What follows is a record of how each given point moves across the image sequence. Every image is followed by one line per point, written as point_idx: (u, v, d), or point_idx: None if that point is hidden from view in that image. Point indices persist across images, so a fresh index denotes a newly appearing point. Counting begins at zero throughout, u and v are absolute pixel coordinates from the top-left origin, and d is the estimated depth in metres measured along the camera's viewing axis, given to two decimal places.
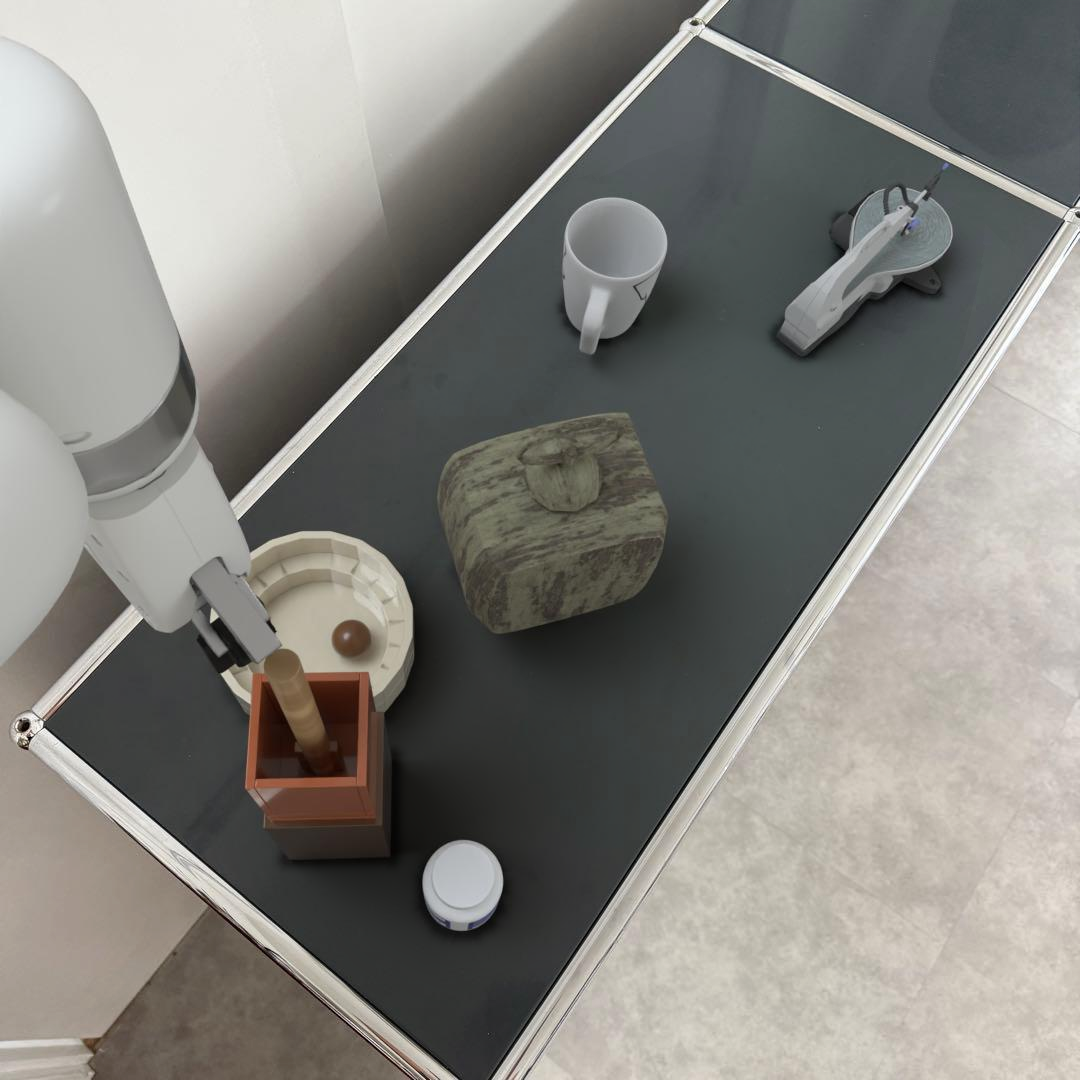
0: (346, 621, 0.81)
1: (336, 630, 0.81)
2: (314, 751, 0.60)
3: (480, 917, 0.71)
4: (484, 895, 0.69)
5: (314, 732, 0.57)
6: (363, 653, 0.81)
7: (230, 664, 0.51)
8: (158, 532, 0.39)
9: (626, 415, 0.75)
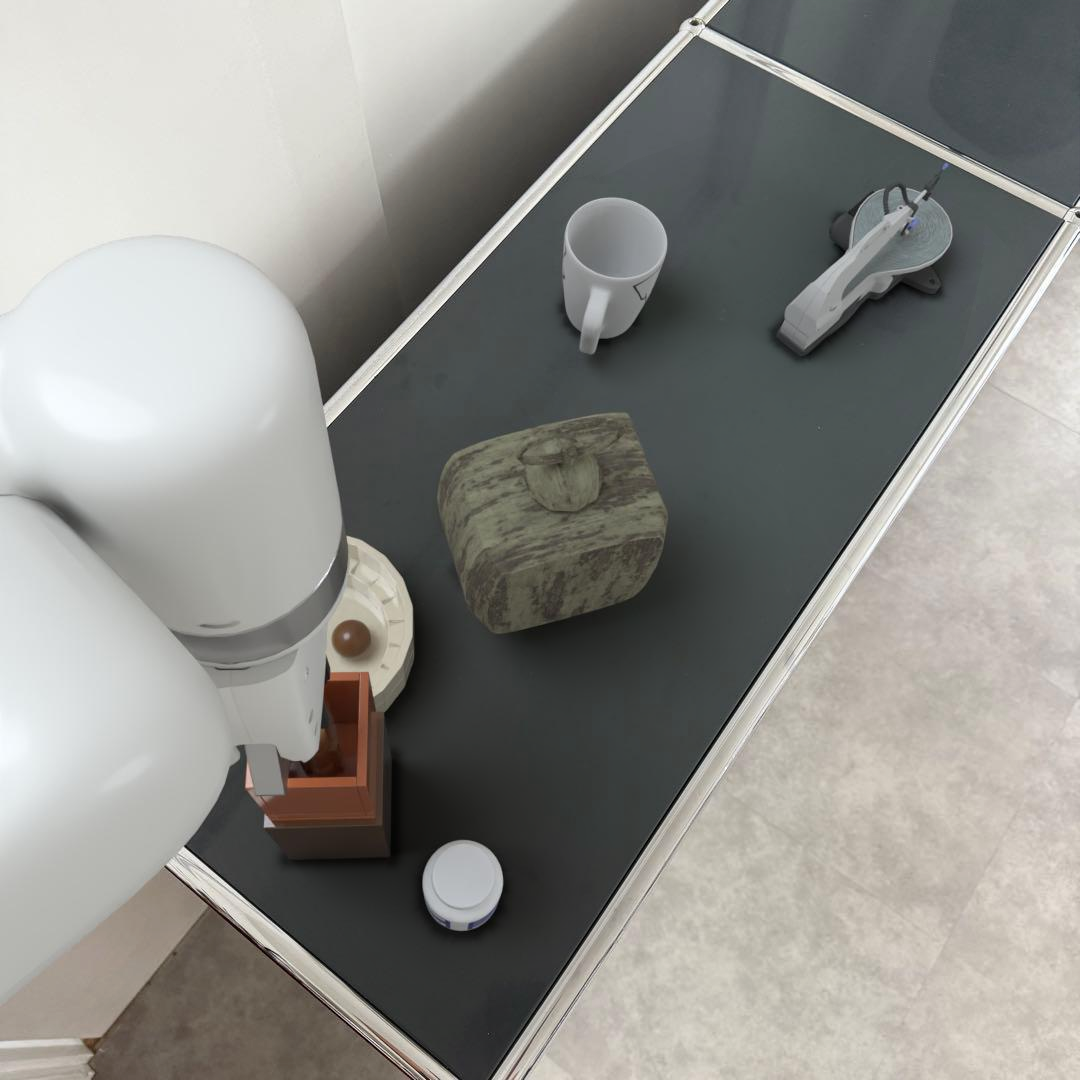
0: (346, 621, 0.81)
1: (336, 630, 0.81)
2: None
3: (480, 917, 0.71)
4: (484, 895, 0.69)
5: None
6: (363, 653, 0.81)
7: None
8: None
9: (626, 415, 0.75)
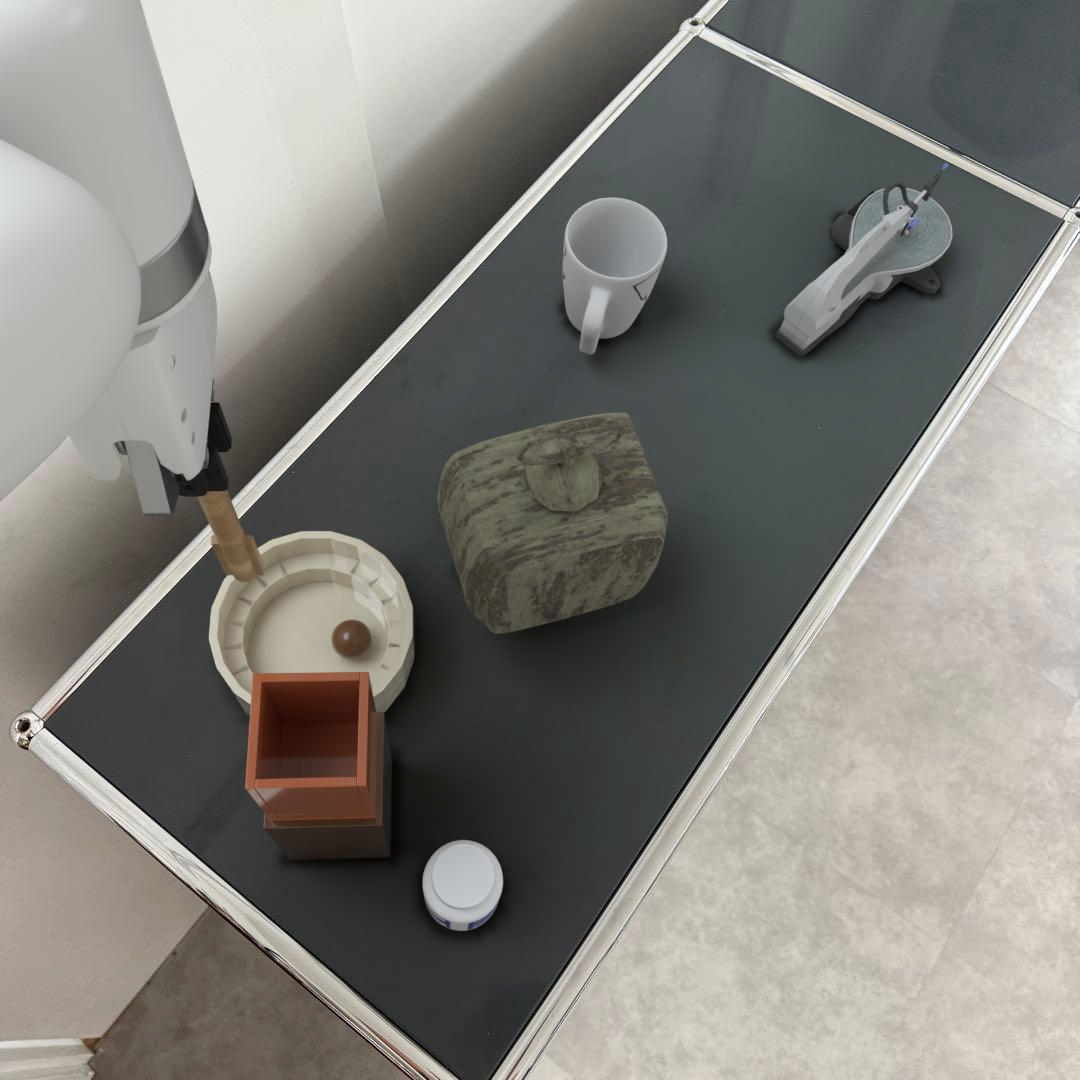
0: (346, 621, 0.81)
1: (336, 630, 0.81)
2: (227, 537, 0.63)
3: (480, 917, 0.71)
4: (484, 895, 0.69)
5: (222, 508, 0.60)
6: (363, 653, 0.81)
7: None
8: None
9: (626, 415, 0.75)
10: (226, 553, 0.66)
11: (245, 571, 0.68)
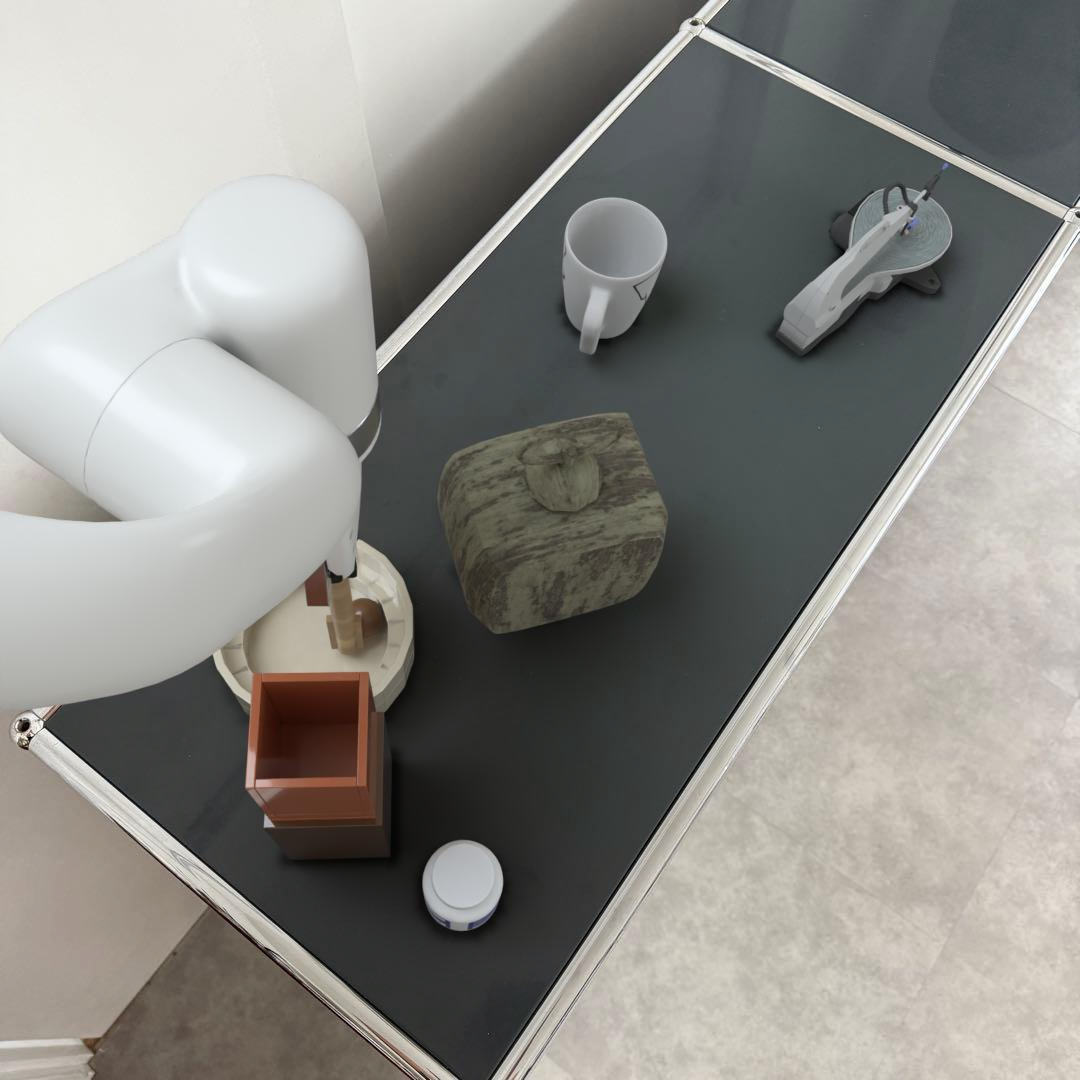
0: None
1: None
2: (343, 616, 0.76)
3: (480, 917, 0.71)
4: (484, 895, 0.69)
5: (344, 592, 0.73)
6: (376, 627, 0.82)
7: None
8: None
9: (626, 415, 0.75)
10: (338, 630, 0.78)
11: (350, 645, 0.80)
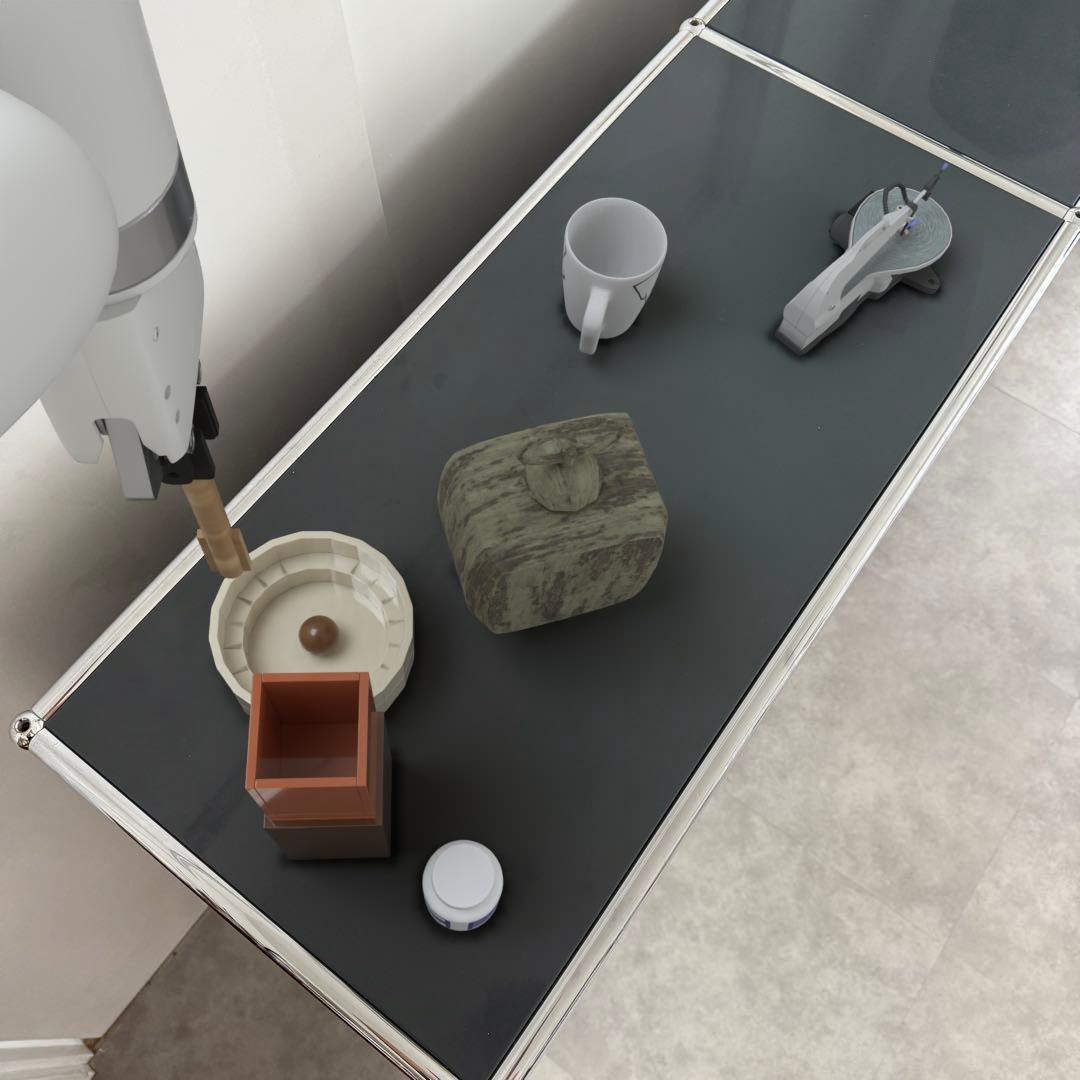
0: (310, 639, 0.80)
1: (301, 642, 0.81)
2: (213, 529, 0.61)
3: (480, 917, 0.71)
4: (484, 895, 0.69)
5: (209, 499, 0.58)
6: None
7: None
8: None
9: (626, 415, 0.75)
10: (212, 547, 0.63)
11: (232, 566, 0.66)
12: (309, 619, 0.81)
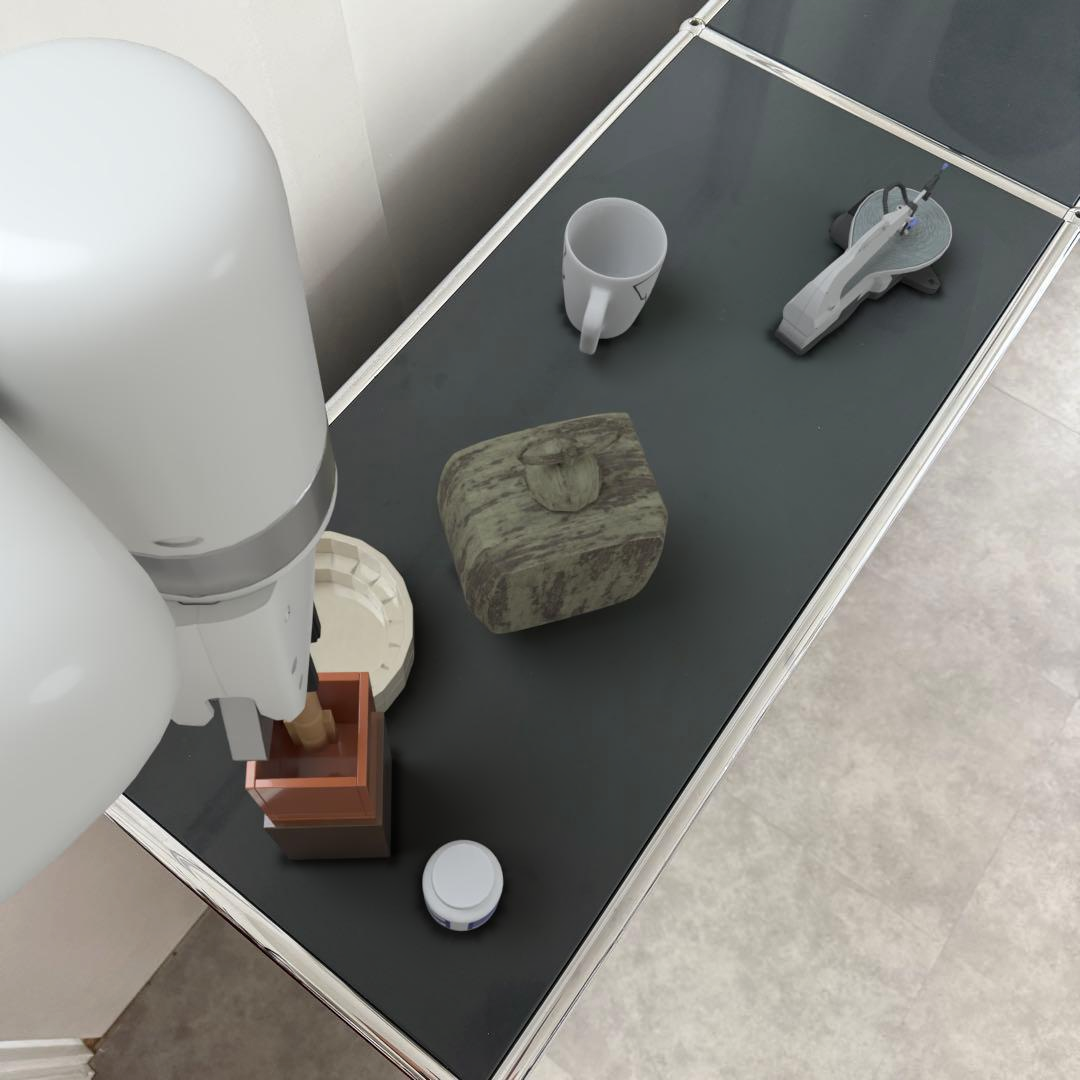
0: None
1: None
2: (305, 720, 0.54)
3: (480, 917, 0.71)
4: (484, 895, 0.69)
5: None
6: None
7: None
8: None
9: (626, 415, 0.75)
10: (301, 732, 0.57)
11: (319, 744, 0.59)
12: None
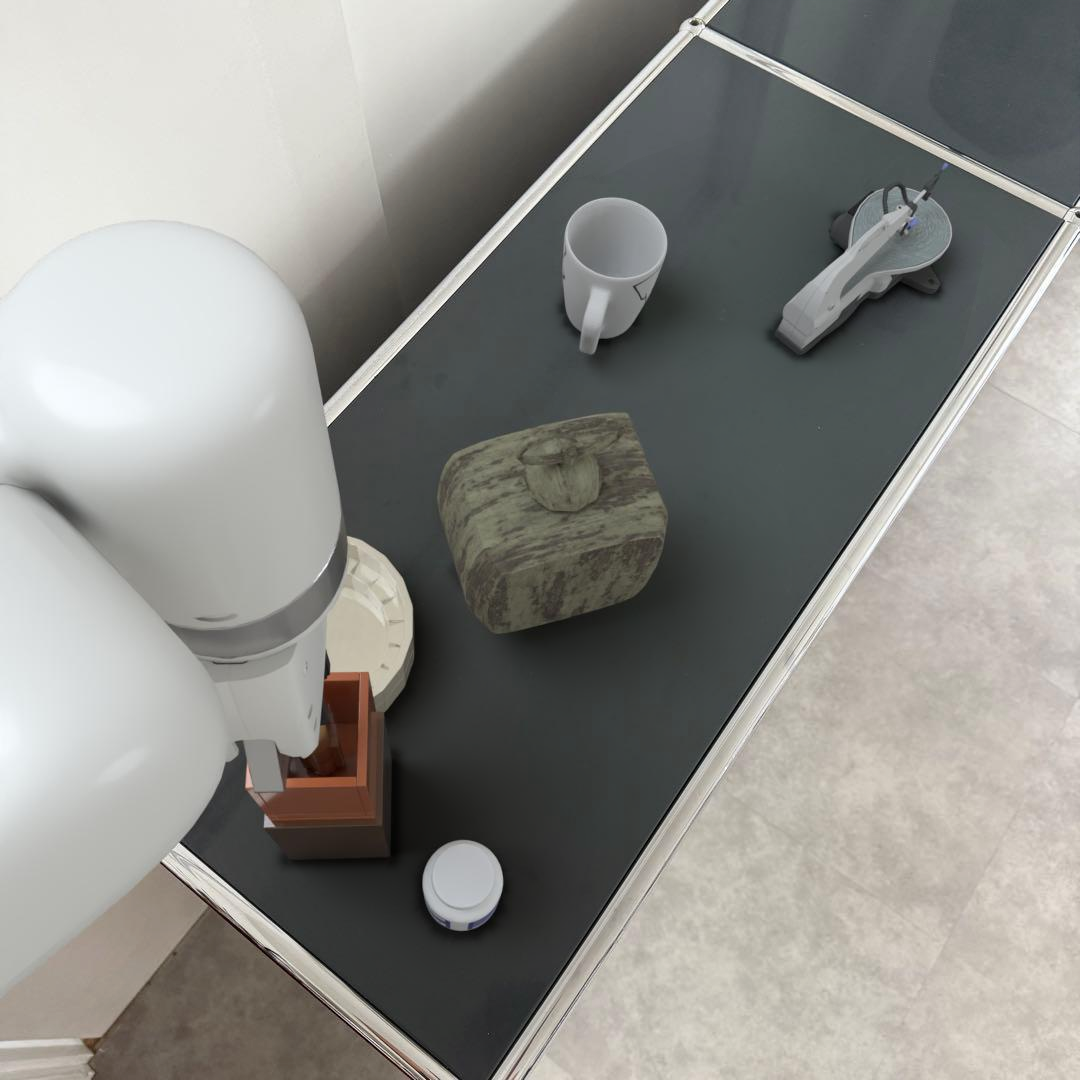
0: None
1: None
2: None
3: (480, 917, 0.71)
4: (484, 895, 0.69)
5: None
6: None
7: None
8: None
9: (626, 415, 0.75)
10: (310, 757, 0.62)
11: (327, 767, 0.64)
12: None
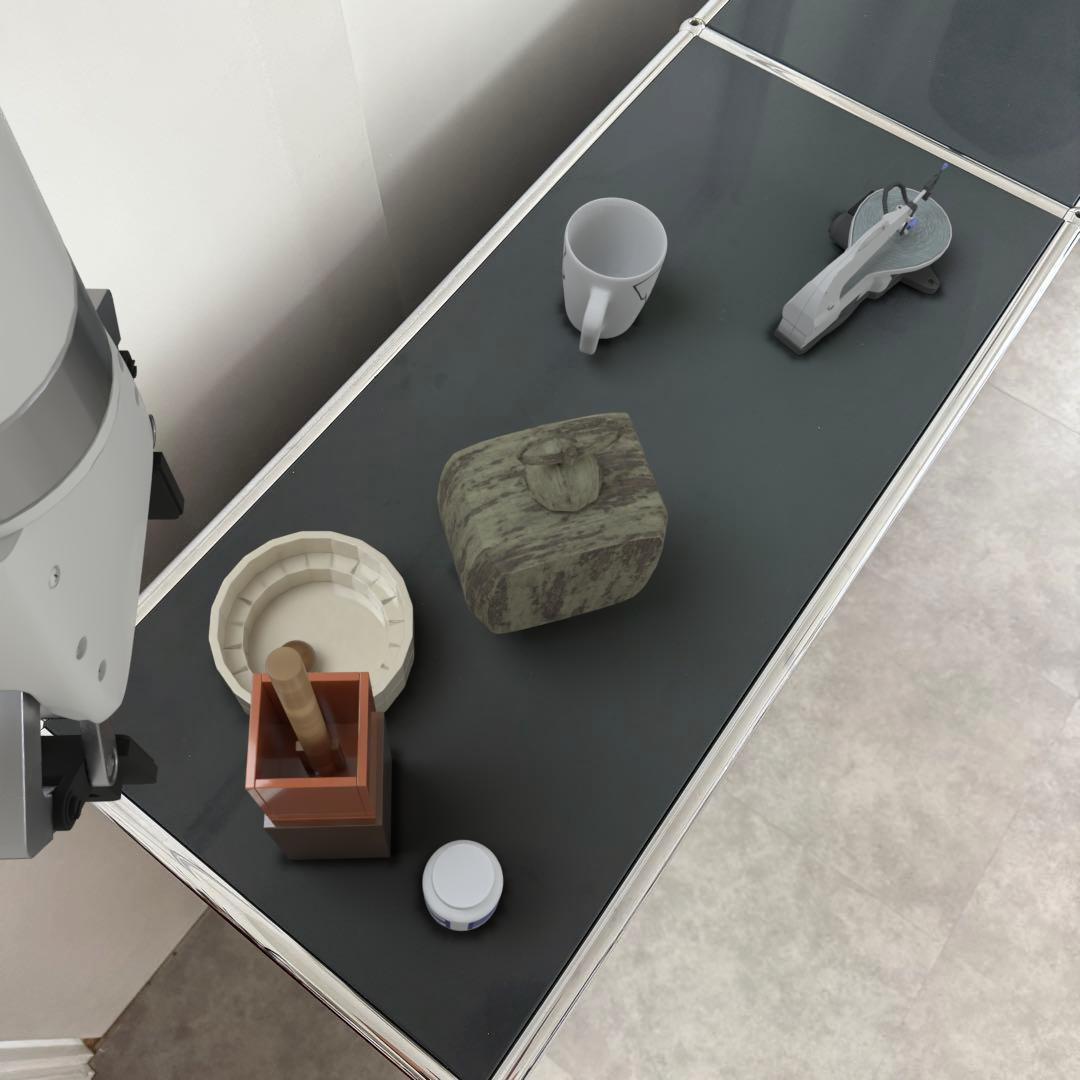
0: None
1: None
2: (316, 749, 0.60)
3: (480, 917, 0.71)
4: (484, 895, 0.69)
5: (316, 730, 0.57)
6: (316, 659, 0.81)
7: None
8: None
9: (626, 415, 0.75)
10: (311, 759, 0.62)
11: (328, 770, 0.65)
12: None
